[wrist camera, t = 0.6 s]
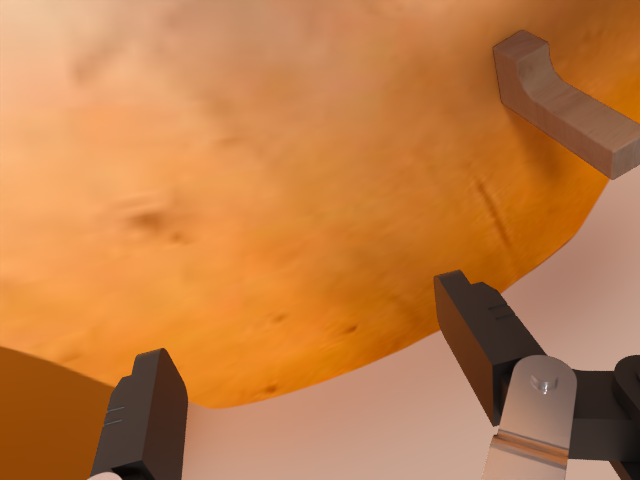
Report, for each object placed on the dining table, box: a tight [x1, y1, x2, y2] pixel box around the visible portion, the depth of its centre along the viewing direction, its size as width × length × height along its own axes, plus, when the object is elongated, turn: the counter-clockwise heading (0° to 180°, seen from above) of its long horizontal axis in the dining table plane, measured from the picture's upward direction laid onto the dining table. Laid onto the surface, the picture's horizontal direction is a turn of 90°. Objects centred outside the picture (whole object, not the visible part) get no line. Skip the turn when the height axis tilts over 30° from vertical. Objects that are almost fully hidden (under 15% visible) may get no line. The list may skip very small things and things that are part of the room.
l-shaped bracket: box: [493, 30, 640, 180], centre depth 42 cm, size 7×3×15 cm, turn 24°
